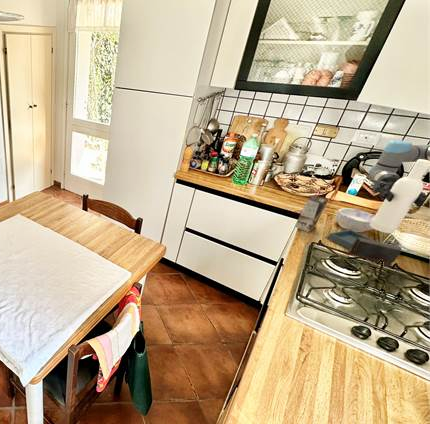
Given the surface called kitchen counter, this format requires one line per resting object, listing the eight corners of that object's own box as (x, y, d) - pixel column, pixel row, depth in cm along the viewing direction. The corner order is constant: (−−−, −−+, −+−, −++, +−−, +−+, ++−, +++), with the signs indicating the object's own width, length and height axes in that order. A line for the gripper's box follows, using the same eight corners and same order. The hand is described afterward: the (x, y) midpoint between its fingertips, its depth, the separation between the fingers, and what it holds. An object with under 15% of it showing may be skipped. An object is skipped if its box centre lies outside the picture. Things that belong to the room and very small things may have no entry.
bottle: (393, 235, 124) (439, 165, 109) (367, 227, 129) (408, 159, 114) (395, 229, 128) (440, 161, 113) (370, 221, 133) (411, 155, 119)
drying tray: (379, 249, 141) (382, 244, 140) (358, 254, 138) (361, 249, 136) (346, 234, 153) (349, 229, 151) (327, 238, 149) (330, 233, 148)
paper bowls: (325, 223, 161) (332, 210, 158) (341, 218, 167) (348, 205, 163) (360, 238, 149) (369, 224, 146) (376, 231, 155) (384, 218, 151)
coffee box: (308, 232, 153) (323, 204, 146) (294, 227, 158) (307, 199, 150) (315, 227, 158) (329, 199, 150) (301, 221, 163) (314, 194, 155)
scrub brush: (388, 264, 132) (400, 247, 127) (391, 268, 129) (403, 251, 125) (347, 253, 138) (357, 236, 134) (348, 257, 136) (358, 240, 131)
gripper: (415, 194, 132) (437, 216, 115) (354, 184, 141) (366, 203, 124) (426, 178, 128) (450, 199, 111) (362, 168, 137) (375, 186, 120)
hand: (405, 201), depth 118 cm, fingers closed on bottle, 8 cm apart
